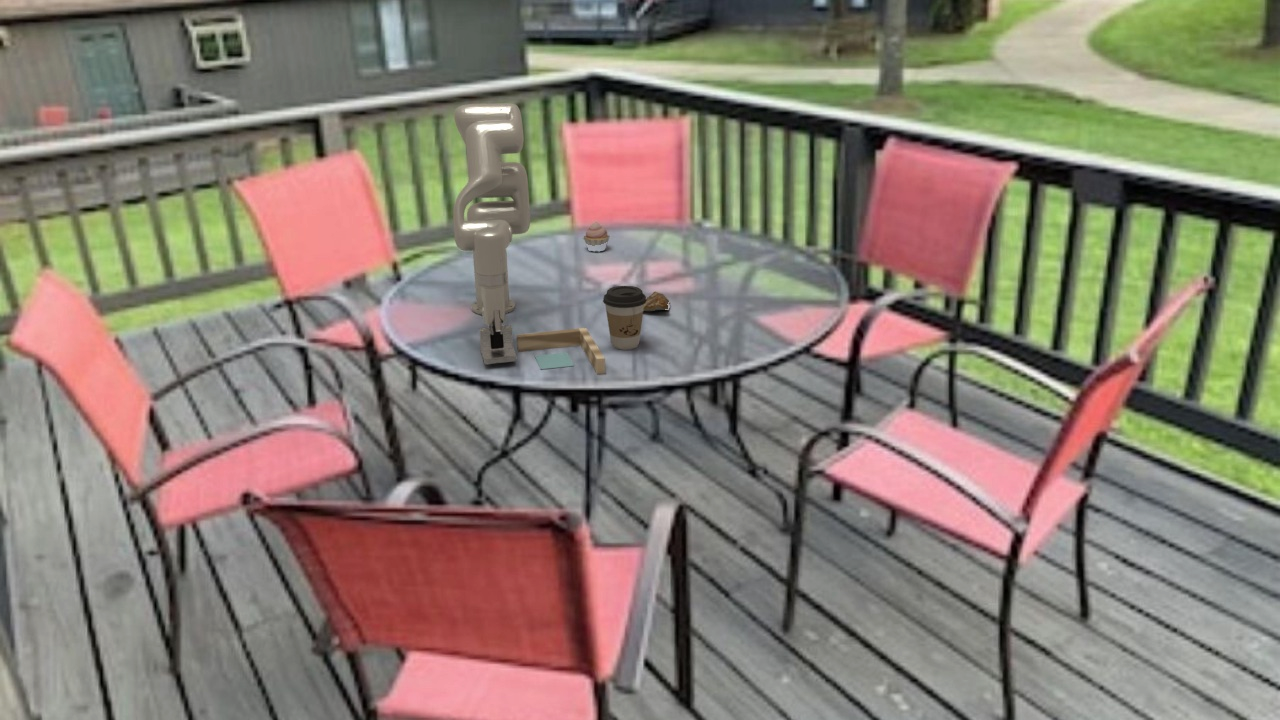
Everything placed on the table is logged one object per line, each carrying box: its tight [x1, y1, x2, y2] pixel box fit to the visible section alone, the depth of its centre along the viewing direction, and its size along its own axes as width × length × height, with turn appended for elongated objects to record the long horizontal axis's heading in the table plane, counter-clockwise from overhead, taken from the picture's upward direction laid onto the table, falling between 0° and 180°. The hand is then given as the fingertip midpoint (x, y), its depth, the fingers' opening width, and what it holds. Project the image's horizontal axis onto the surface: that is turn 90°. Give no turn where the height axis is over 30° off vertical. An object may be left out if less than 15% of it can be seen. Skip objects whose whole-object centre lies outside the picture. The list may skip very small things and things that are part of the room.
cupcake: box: [583, 221, 610, 246], centre depth 343 cm, size 9×9×10 cm
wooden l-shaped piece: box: [516, 327, 606, 375], centre depth 253 cm, size 22×18×4 cm
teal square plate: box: [534, 352, 575, 371], centre depth 253 cm, size 9×8×1 cm
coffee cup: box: [602, 285, 647, 351], centre depth 261 cm, size 11×11×15 cm
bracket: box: [479, 324, 518, 365], centre depth 251 cm, size 8×7×7 cm
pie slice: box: [643, 291, 670, 312], centre depth 289 cm, size 10×4×15 cm
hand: (496, 345), depth 254 cm, fingers closed on bracket
